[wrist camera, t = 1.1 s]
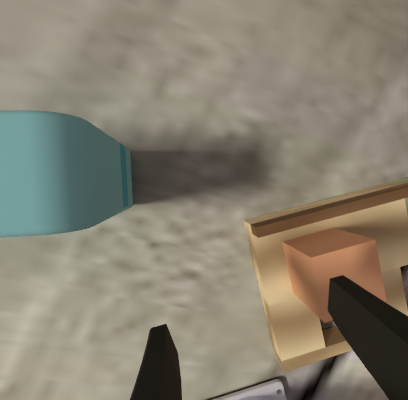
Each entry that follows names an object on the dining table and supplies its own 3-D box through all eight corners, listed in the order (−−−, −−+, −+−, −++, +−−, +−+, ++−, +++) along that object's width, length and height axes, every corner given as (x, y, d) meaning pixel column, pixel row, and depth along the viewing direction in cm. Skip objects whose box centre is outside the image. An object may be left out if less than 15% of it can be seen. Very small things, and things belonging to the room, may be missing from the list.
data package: (133, 151, 21) (75, 108, 9) (136, 205, 21) (83, 234, 9) (-25, 154, 20) (-335, 110, 8) (-19, 212, 20) (-309, 254, 8)
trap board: (465, 296, 25) (528, 320, 20) (275, 355, 23) (298, 396, 19) (445, 167, 24) (507, 163, 19) (243, 220, 22) (260, 230, 18)
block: (343, 278, 21) (387, 303, 17) (293, 293, 21) (324, 323, 16) (333, 227, 21) (375, 239, 16) (282, 241, 21) (311, 257, 16)
